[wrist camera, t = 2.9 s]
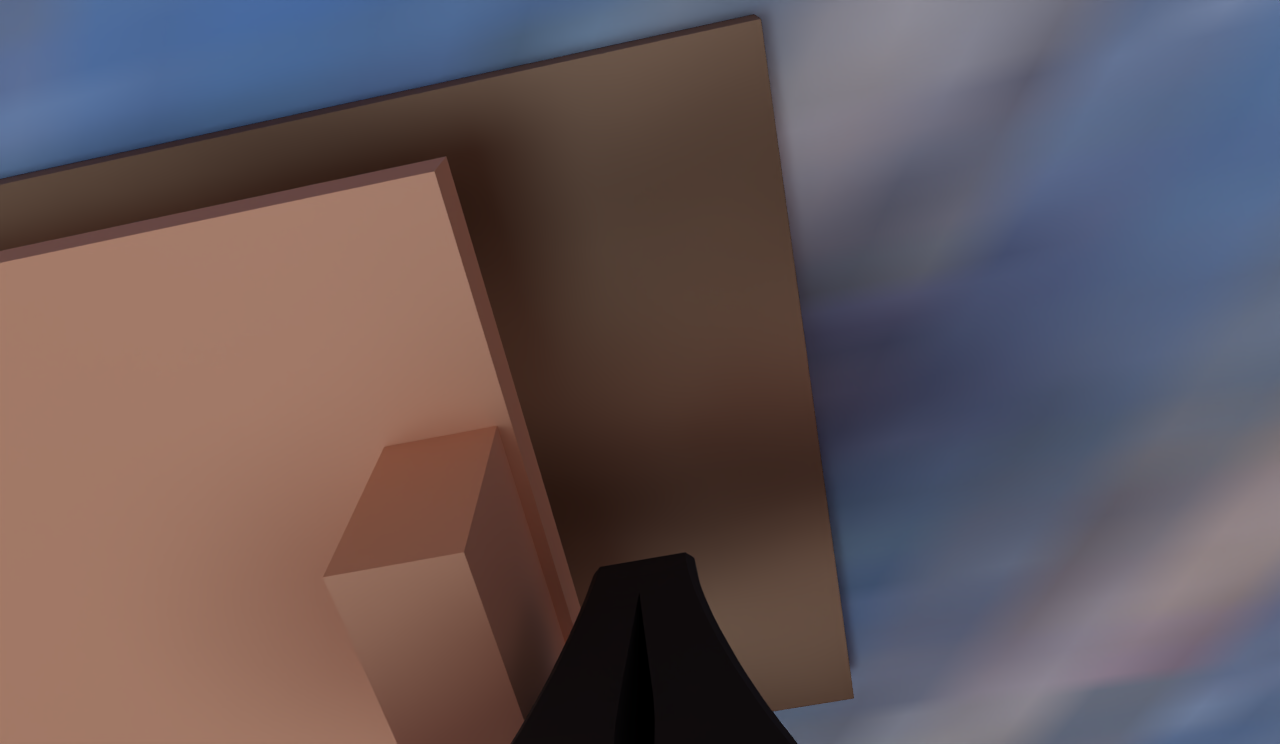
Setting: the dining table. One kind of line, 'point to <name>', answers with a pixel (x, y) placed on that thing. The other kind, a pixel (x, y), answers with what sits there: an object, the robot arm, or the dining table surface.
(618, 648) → the robot arm
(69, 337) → the panel
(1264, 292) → the dining table surface
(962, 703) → the dining table surface
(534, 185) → the socket
